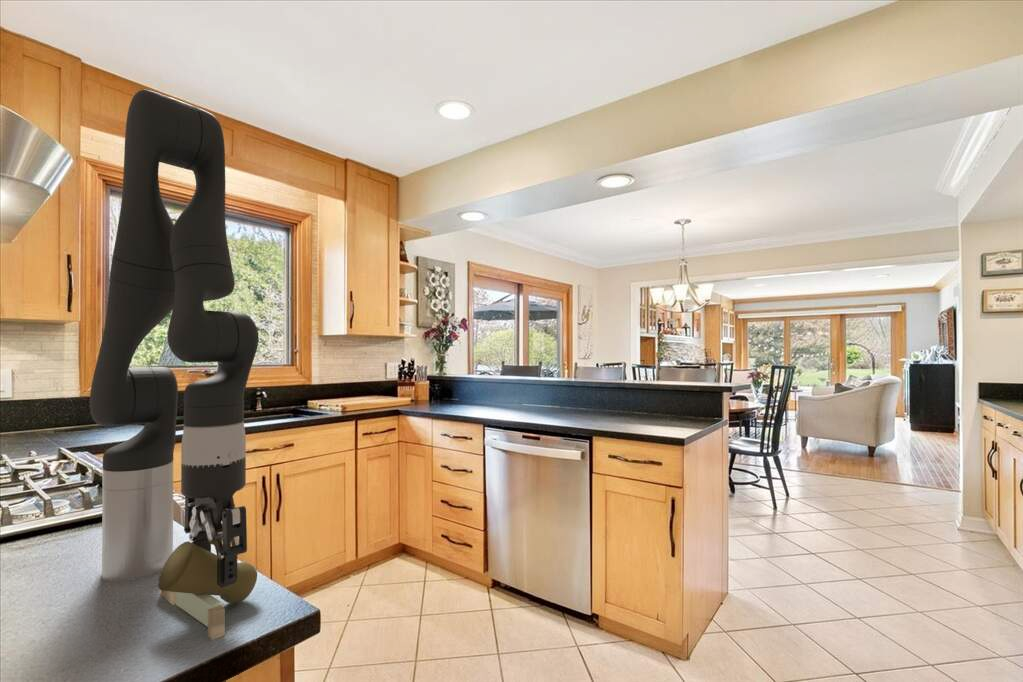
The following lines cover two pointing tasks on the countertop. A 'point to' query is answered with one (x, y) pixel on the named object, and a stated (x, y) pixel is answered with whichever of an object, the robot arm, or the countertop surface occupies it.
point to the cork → (203, 574)
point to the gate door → (197, 605)
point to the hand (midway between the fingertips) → (213, 575)
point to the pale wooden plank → (214, 616)
